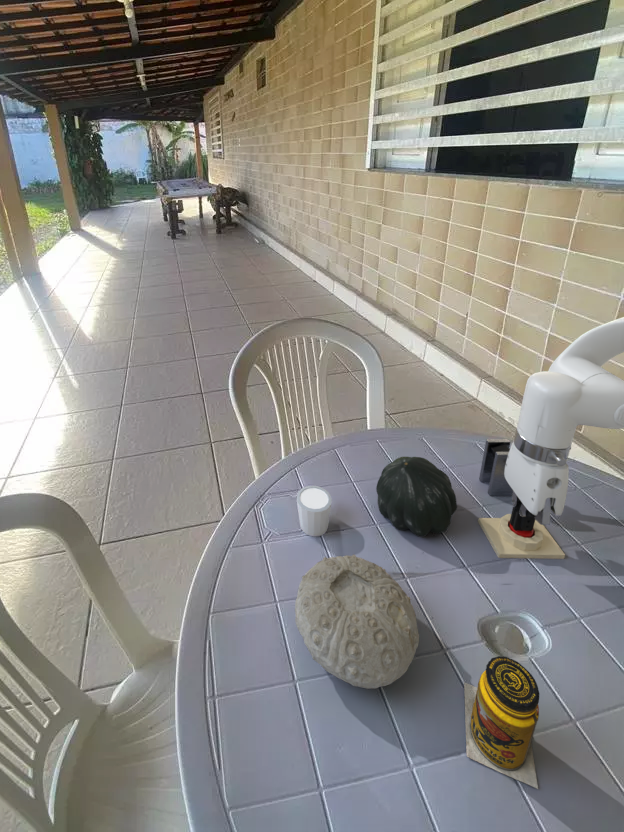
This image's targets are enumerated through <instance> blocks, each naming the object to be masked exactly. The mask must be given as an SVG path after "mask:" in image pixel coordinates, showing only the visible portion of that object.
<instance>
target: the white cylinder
mask: <svg viewBox="0 0 624 832" xmlns="http://www.w3.org/2000/svg"><path fill="white" fill-rule="evenodd" d="M332 503H333V498H332V496H331V493H330V492H329V491H328V490H327V489H326V488H323V487H322V486H317V485H307V486H304V487H302V488H300V490H299V491H297V494H296V505H297V511H298V520H299V521H298V522H299V527H300V529H301V531H302V532H303V533H304V534H306V535H307V536H311V537H321V536H323V535H325V534H326V533H327V532H328V528H329V525H330V524H329V523H330V517H331V516H330V515H331V509H332Z"/></svg>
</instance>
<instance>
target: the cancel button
mask: <svg viewBox="0 0 624 832" xmlns="http://www.w3.org/2000/svg"><path fill="white" fill-rule="evenodd" d="M509 528H510V530H511V531H513V532H514V533H515V534H517V535H519V536H521V537H524V538H532V536H533V530H532V531H515V530H514V529H513V526H512V525H511V524H510V525H509Z"/></svg>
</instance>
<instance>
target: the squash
mask: <svg viewBox="0 0 624 832" xmlns="http://www.w3.org/2000/svg"><path fill="white" fill-rule="evenodd" d="M375 490H376V493H377V507H378V512H379V513H380V515H381V516H383V517H384V518H386V519H388V520H389V522H390V523H391V524H392V527H394V528H395V529H397V530H399V531H401V530H402V531H404V530H405V531H406V530H410V532H411V533H412V534H414V535H415V536H417V537H420V538H424V537H426V536H427V535H428V534H429V533H430V532H431V533H434V534H438V535H439V534H442V533H444V532H445V531H447V530H448V528H449V527H450V525H451V522H452V517H453V515H454V513H455V512H456V510H457V509H458V502H457V497H456V493H455V491H454V489H453V485H452V482H451V480H450V477H449V476H448V474H446V472H444V471H443V470H442V469H439V468H438V467H437V466H436V465H435V464H434V463H432V462H431V461H430V460H428V459H427V458H424V457H420V456H400V457H398V458H396V459H394V460H392V461H391V462H389V463H387V464H386V465H385V466H384V467H383V469H382V471H381V475H380V476H379V478H378V480H377V483H376V487H375Z"/></svg>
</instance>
